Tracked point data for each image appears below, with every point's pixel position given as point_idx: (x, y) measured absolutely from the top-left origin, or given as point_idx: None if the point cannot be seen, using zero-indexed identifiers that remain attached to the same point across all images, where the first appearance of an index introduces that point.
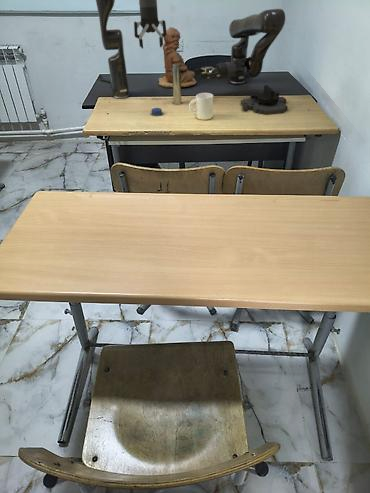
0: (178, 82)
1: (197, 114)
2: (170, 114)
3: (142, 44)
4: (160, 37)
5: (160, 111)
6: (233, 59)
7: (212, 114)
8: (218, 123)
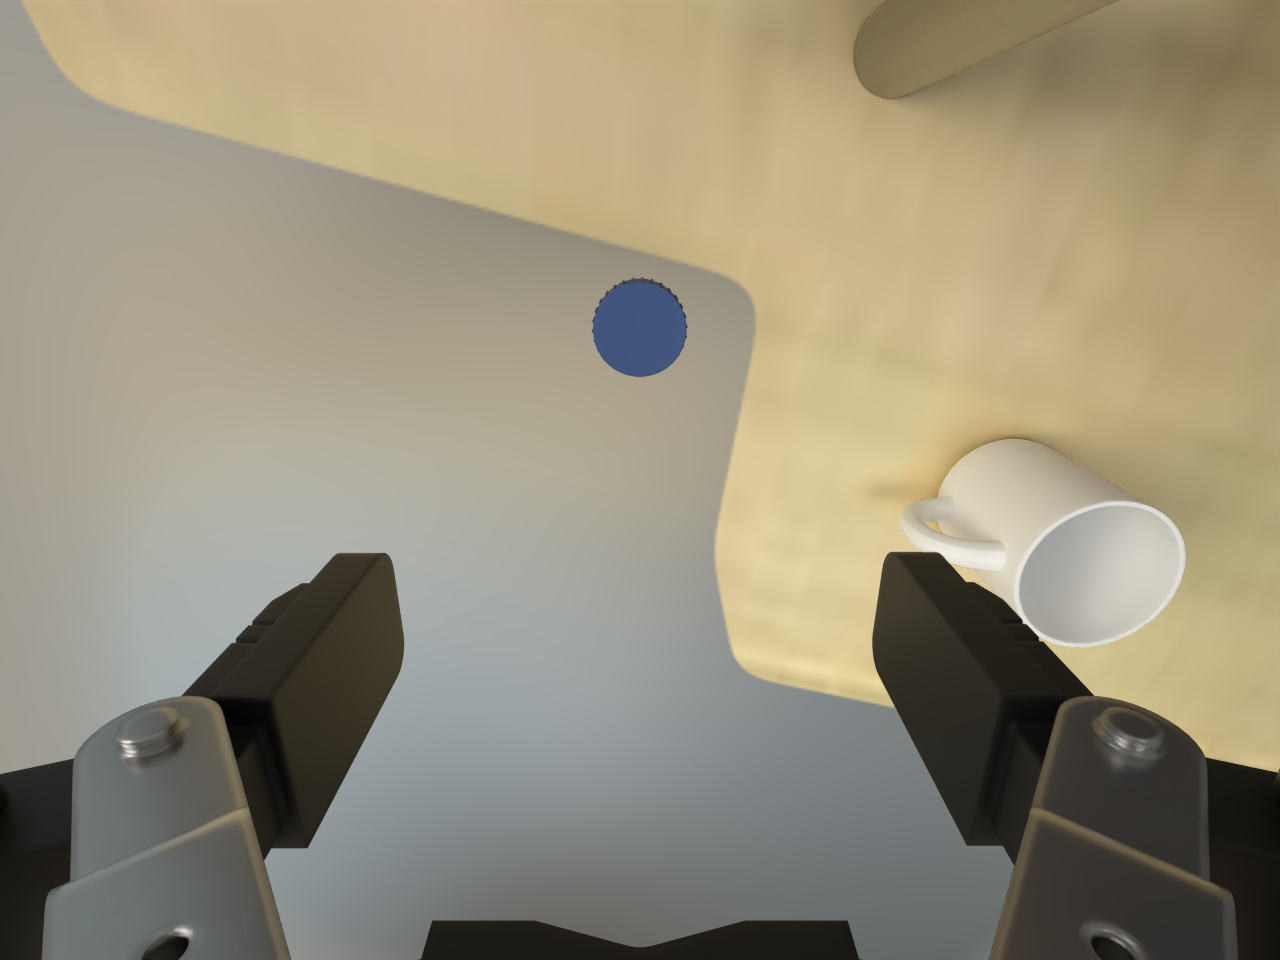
0: (1012, 46)
1: (946, 532)
2: (753, 366)
3: (359, 730)
4: (1017, 835)
5: (671, 361)
6: None
7: (1059, 539)
8: None
